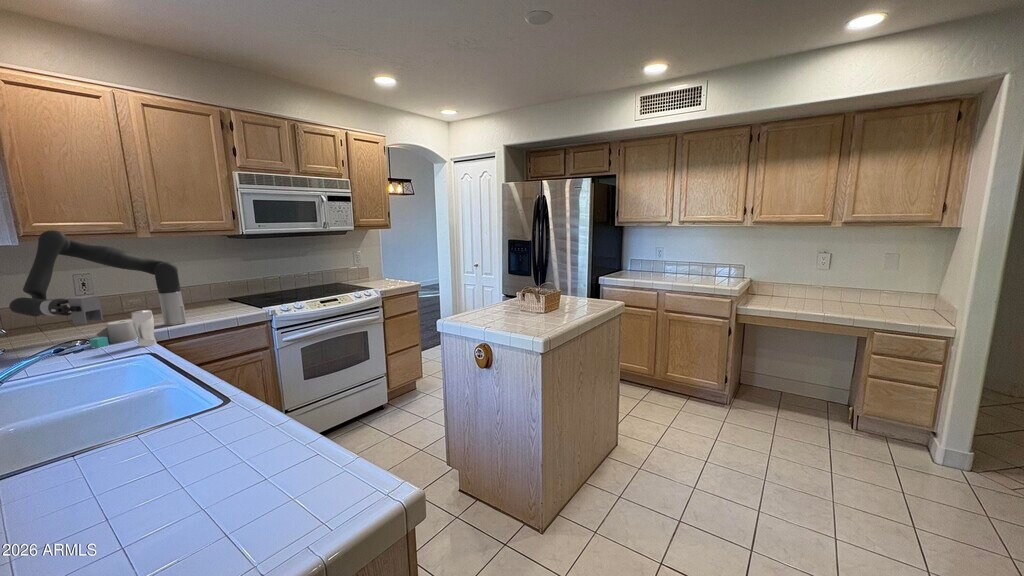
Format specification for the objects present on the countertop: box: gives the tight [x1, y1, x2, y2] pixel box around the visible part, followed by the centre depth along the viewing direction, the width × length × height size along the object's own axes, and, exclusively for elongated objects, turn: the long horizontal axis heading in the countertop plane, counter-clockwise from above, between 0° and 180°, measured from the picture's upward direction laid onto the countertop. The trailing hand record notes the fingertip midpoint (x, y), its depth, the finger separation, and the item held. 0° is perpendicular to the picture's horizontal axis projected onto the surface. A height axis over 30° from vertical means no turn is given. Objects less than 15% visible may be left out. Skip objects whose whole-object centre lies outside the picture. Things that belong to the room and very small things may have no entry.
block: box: [89, 336, 110, 349], centre depth 180 cm, size 4×4×4 cm
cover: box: [67, 295, 104, 325], centre depth 178 cm, size 7×7×11 cm
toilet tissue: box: [96, 319, 138, 344], centre depth 189 cm, size 9×13×9 cm
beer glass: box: [131, 309, 157, 348], centre depth 180 cm, size 7×7×15 cm
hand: (89, 307), depth 177 cm, fingers closed on cover, 6 cm apart
